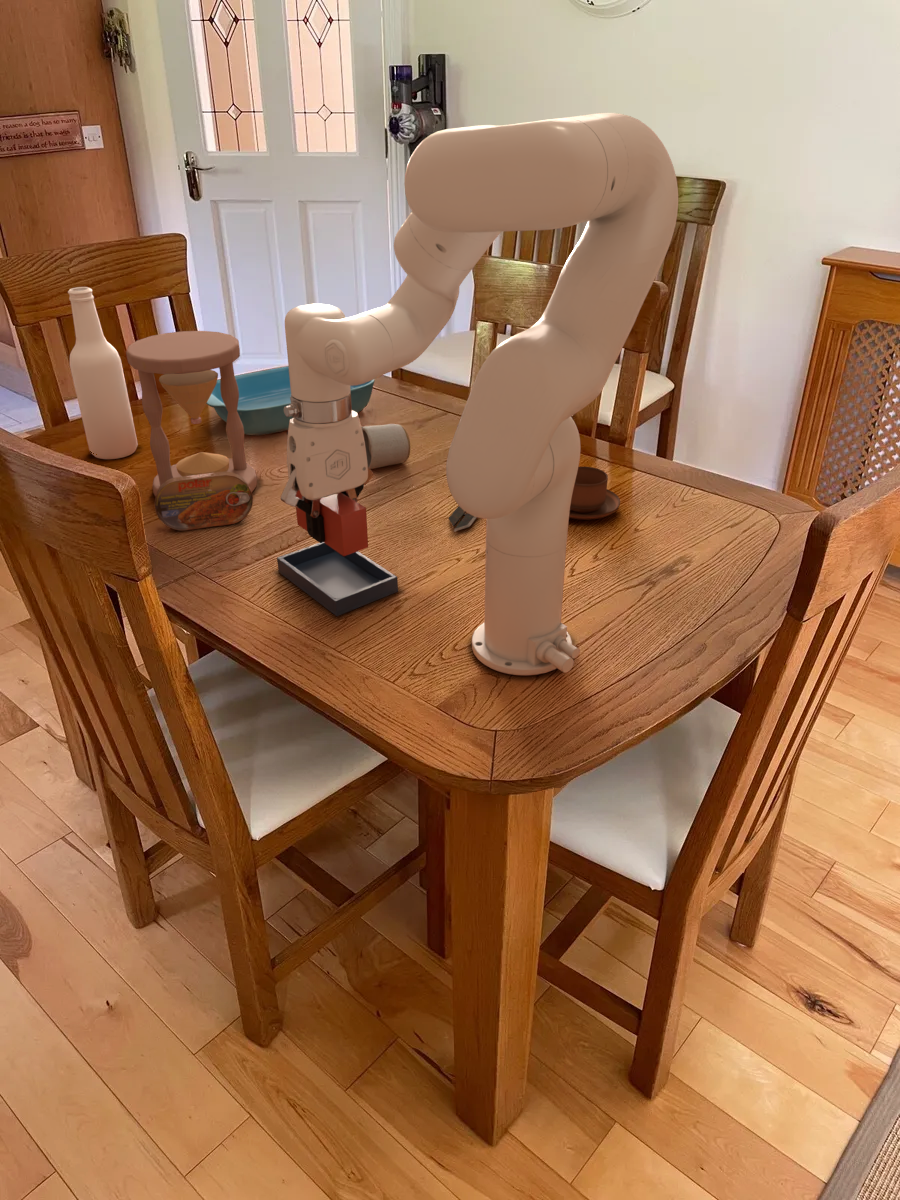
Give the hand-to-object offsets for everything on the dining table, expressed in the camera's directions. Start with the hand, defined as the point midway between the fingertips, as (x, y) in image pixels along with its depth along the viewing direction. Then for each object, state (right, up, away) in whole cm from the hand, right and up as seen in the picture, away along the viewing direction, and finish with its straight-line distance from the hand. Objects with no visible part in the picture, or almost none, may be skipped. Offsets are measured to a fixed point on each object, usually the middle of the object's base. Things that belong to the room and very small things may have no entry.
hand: (331, 532), depth 123 cm
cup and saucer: (+38, +5, +23) cm, 45 cm away
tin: (-23, +3, +20) cm, 30 cm away
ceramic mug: (+4, +16, +41) cm, 44 cm away
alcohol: (-48, +19, +47) cm, 69 cm away
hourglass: (-26, +10, +32) cm, 43 cm away
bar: (0, 0, 0) cm, 0 cm away
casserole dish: (-16, +30, +64) cm, 72 cm away
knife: (+22, +7, +26) cm, 35 cm away
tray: (0, -7, +4) cm, 8 cm away
